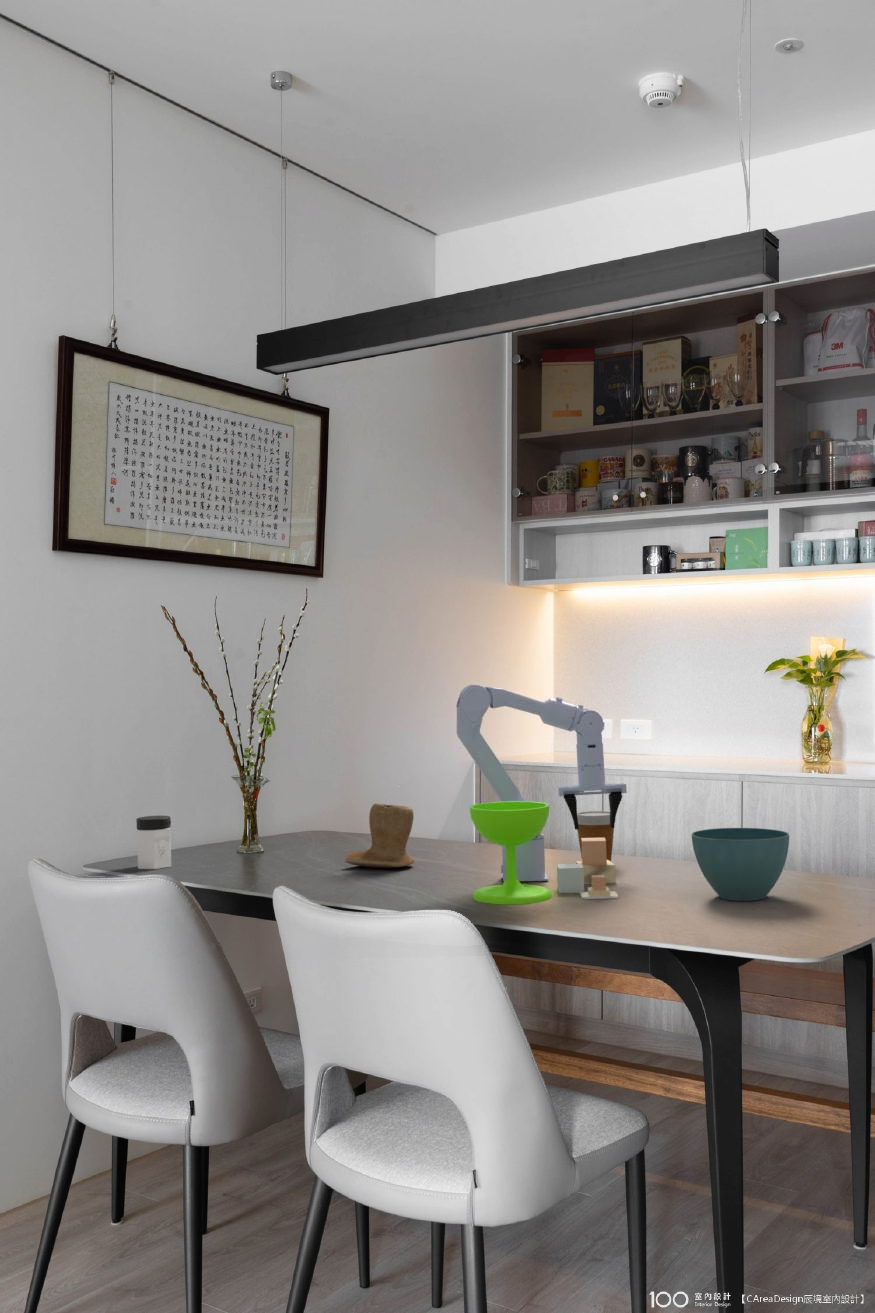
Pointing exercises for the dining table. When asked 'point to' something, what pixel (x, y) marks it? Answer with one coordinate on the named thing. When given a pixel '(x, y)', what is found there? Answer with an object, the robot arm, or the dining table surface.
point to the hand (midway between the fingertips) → (594, 828)
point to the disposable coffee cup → (596, 828)
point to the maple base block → (599, 872)
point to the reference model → (598, 889)
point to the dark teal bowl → (741, 860)
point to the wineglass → (510, 846)
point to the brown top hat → (386, 838)
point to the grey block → (570, 878)
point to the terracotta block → (594, 851)
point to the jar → (153, 842)
